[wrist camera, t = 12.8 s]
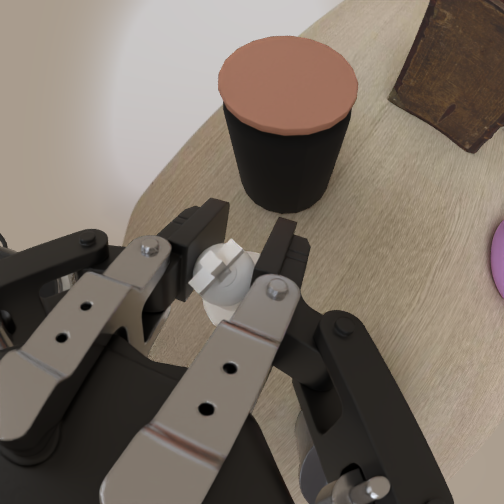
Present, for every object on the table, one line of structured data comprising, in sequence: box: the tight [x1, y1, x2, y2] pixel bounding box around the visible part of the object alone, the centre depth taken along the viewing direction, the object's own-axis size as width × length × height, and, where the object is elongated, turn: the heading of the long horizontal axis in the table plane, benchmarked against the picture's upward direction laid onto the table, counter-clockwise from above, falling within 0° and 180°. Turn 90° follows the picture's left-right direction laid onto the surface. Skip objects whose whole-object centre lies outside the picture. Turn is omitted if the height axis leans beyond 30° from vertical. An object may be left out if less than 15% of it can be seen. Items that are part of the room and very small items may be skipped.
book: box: [388, 0, 504, 153], centre depth 26 cm, size 17×7×25 cm, turn 50°
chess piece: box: [188, 239, 260, 327], centre depth 13 cm, size 5×5×10 cm
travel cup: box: [295, 410, 328, 504], centre depth 24 cm, size 11×11×13 cm
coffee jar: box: [218, 36, 358, 214], centre depth 29 cm, size 11×11×18 cm
